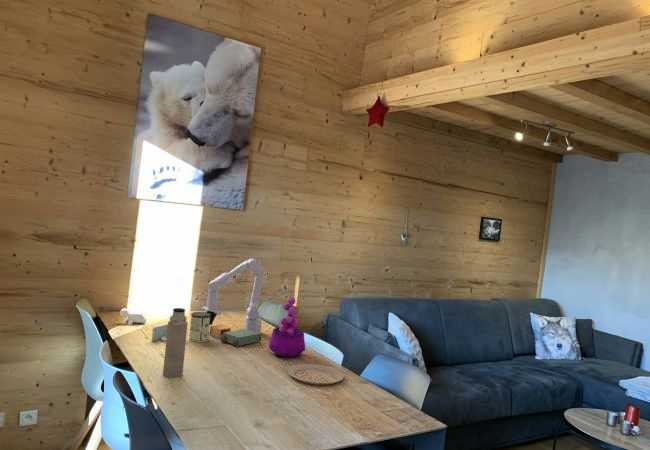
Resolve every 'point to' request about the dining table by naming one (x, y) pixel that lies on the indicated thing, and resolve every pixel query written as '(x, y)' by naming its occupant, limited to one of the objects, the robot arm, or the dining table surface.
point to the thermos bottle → (175, 344)
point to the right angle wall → (160, 333)
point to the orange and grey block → (219, 330)
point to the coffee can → (199, 326)
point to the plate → (301, 367)
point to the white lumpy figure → (133, 316)
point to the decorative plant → (288, 334)
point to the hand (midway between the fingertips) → (209, 324)
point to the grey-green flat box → (239, 337)
